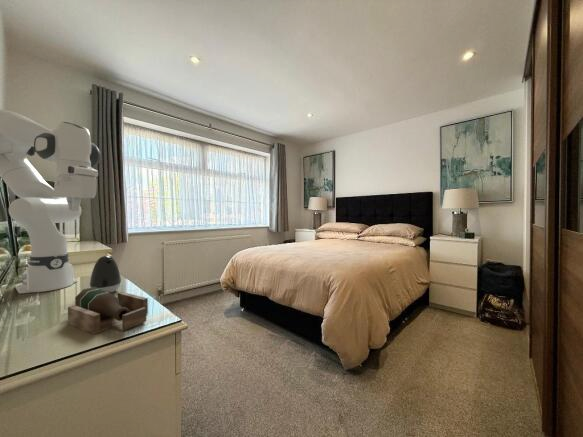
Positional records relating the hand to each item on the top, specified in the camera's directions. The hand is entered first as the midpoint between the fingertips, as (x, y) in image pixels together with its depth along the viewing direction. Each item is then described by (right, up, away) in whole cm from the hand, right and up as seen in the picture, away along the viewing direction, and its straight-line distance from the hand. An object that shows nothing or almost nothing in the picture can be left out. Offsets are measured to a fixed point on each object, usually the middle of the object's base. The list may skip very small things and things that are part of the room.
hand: (73, 210), depth 83 cm
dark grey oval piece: (-1, -33, +15) cm, 37 cm away
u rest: (+22, -34, -10) cm, 41 cm away
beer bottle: (+7, -29, -3) cm, 30 cm away
